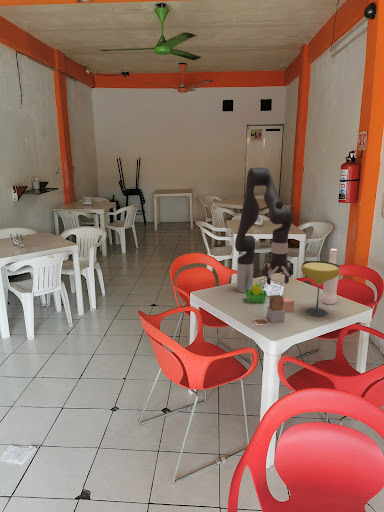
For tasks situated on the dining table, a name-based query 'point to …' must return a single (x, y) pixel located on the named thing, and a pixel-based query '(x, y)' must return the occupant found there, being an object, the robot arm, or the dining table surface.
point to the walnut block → (276, 302)
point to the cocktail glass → (319, 279)
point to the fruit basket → (256, 294)
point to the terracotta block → (288, 305)
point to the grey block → (275, 315)
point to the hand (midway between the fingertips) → (277, 283)
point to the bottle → (330, 283)
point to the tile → (261, 322)
